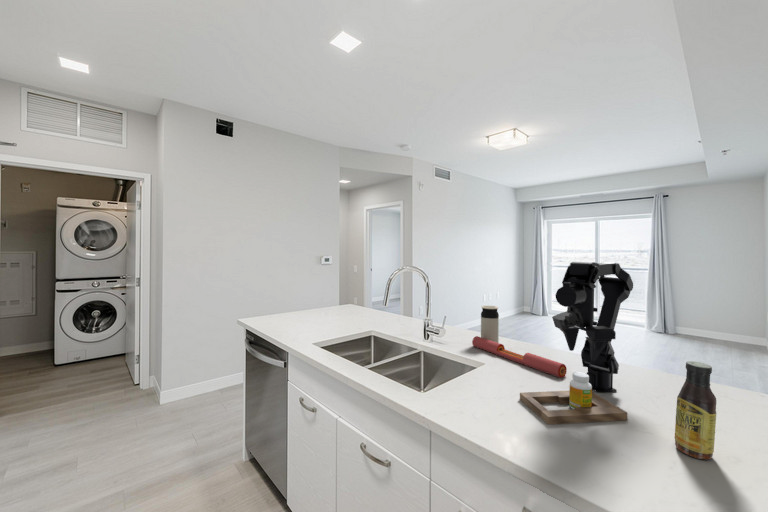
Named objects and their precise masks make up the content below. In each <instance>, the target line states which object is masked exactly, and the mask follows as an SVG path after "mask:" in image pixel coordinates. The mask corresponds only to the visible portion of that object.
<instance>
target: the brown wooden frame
mask: <svg viewBox="0 0 768 512" xmlns="http://www.w3.org/2000/svg"><path fill="white" fill-rule="evenodd" d="M569 394H570V390H553V391H552V390H551V391H549V390H548V391H531V392H530V391H529V392H525V391H524V392H519V400H520V401H521V402H522V403H523V404H525V406H527V407H528V408H529V409H530V410H532V411H533V413H534V414H536V415H537V416H538V417H539V418H541V420H542V421H544V422H545V423H546V424H547V425H562V424H563V425H565V424H567V425H568V424H581V423H582V424H583V423H586V424H587V423H599V422H600V423H602V422H615V421H616V422H617V421H618V422H620V421H622V422H623V421H628V415H629V414H628V412H627V411H626V410H624V409H622V408H620V407H619V406H617V405H615V404H614V403H612V402H610V401H608V400H606V399H605V398H603V397H602V396H600V395H598V394H597V393H595V392H593V391H592V407H576V408H575V409H572V408H571V409H556V410H555V409H553V410H549V409H548V408H546V407H545V406H544V405H542V404H555V403H558V404H559V405H568V404H569Z"/></svg>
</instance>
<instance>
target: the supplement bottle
mask: <svg viewBox="0 0 768 512" xmlns="http://www.w3.org/2000/svg"><path fill="white" fill-rule="evenodd" d="M571 375H572V379H571V380H570V381H569V391H570V394H569V407H570V408H571V409H575V408H576V407H592V392H593V389H592V385H591V384H590V383H589V382H588V381H589V375H587V373H585V372H582V371H573V372H572V374H571Z"/></svg>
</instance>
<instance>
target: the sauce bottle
mask: <svg viewBox="0 0 768 512" xmlns="http://www.w3.org/2000/svg"><path fill="white" fill-rule="evenodd" d="M685 369H686V376H685V381H684V383H683V385H682V387H681V389H680V391H679V393H678V395H677V397H676V407H675V408H676V409H675V426H674V427H675V428H674V441H675V442H674V445H675V447H676V449H677V450H678V451H679V452H681V453H683V454H685V455H687V456H690V457H692V458H694V459H698V460H706V461H707V460H710V459H712V458H713V456H714V455H713V454H714V452H715V438H716V437H715V436H716V424H717V422H716V421H717V410H716V409H717V398H716V396H715V393H714V392H713V391H712V389H711V382H710V381H711V375H712V373H713V367H712V366H711V365H709V364H708V363H704V362H701V361H693V360H689V361H686V363H685Z"/></svg>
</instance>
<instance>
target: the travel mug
mask: <svg viewBox="0 0 768 512" xmlns="http://www.w3.org/2000/svg"><path fill="white" fill-rule="evenodd" d="M481 309H482V310H481V313H480V337H481V338H484V339H487V340H491V341H494V342H497V343H499V339H500V338H499V335H500V334H499V324H500V323H499V321H500V319H499V318H500V317H499V312H498V309H499V307H498V306H496V305H482V306H481Z"/></svg>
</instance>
